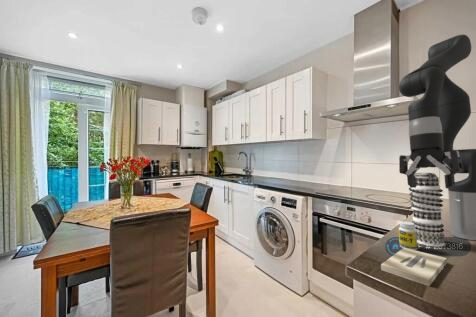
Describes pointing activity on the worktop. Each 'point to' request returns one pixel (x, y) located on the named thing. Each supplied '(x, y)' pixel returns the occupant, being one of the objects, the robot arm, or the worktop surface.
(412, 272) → the board
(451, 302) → the worktop surface
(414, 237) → the supplement bottle
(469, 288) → the worktop surface
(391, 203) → the worktop surface
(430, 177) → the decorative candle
